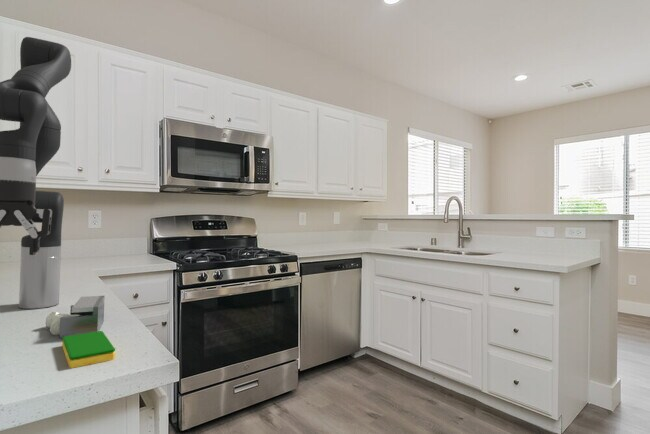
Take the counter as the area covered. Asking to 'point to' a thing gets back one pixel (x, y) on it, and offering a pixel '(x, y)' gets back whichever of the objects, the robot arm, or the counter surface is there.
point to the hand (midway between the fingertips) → (11, 254)
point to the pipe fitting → (55, 322)
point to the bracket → (83, 317)
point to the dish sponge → (87, 349)
